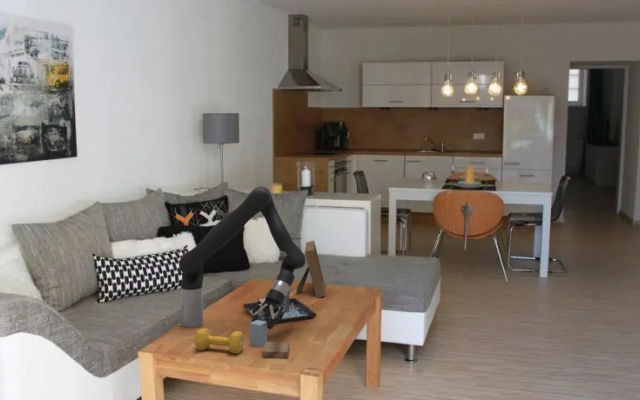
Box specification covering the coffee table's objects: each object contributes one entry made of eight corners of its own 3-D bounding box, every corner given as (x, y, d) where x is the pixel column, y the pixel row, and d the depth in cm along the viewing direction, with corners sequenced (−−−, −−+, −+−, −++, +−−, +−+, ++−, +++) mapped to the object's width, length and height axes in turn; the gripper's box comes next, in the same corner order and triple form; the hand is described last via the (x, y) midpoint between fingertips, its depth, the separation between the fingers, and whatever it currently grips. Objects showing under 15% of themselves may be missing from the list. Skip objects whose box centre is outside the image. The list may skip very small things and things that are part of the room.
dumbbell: (192, 352, 265) (192, 332, 264) (201, 344, 274) (201, 325, 272) (238, 357, 261) (238, 337, 260) (245, 348, 270) (245, 329, 268)
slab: (261, 358, 260) (261, 351, 260) (264, 349, 270) (264, 342, 270) (287, 359, 260) (287, 351, 260) (289, 349, 270) (289, 342, 270)
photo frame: (324, 285, 360) (324, 240, 357) (324, 297, 339) (324, 249, 335) (297, 285, 361) (297, 240, 357) (295, 297, 339) (294, 249, 335)
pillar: (250, 343, 275) (249, 323, 273) (257, 340, 279) (257, 319, 277) (259, 346, 272) (259, 325, 270) (267, 343, 276) (267, 322, 274)
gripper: (261, 285, 284) (243, 318, 277) (287, 291, 276) (270, 325, 269) (268, 294, 289) (251, 327, 282) (295, 300, 281) (278, 334, 274)
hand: (260, 326), depth 275 cm, fingers open, 8 cm apart
